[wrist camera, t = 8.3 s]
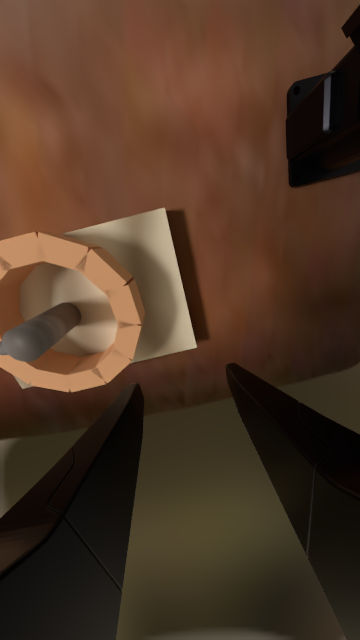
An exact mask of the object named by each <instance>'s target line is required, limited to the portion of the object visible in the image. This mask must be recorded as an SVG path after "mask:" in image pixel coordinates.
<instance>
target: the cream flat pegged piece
mask: <svg viewBox="0 0 360 640" xmlns="http://www.w3.org/2000/svg"><path fill="white" fill-rule="evenodd" d="M60 235H64V236H67V237H71V238H74V239H77V240H81V241H84V242H87V243H90V244H94V245H97V246H100V247H102V249H103V248H104V249H105V250H107V251H108V252H109V253H110V254H111V255H112V256H113V257H114V258H115V259H116V260H117V261H118V262H119V263H120V264H121V265H122V266H123V267H124V268H125V269H126V270H127V271H128V272H129V273H130V274H131V275H132V276H133V277H132V278H131V280H132V279H135V281H136V284H137V287H138V291H139V294H140V297H141V300H142V303H143V306H144V310H145V318H144V321H143V325H142V329H141V333H140V337H139V341H138V345H137V348H136V351H135V355H134V358H133V359H132V362H131V363H133V362H137V361H142V360H146V359H150V358H154V357H159V356H163V355H167V354H171V353H176V352H180V351H184V350H188V349H193V348H197V346H196V342H195V337H194V333H193V329H192V324H191V320H190V316H189V311H188V307H187V303H186V298H185V294H184V290H183V285H182V281H181V277H180V272H179V268H178V263H177V259H176V255H175V250H174V246H173V242H172V237H171V233H170V229H169V224H168V220H167V216H166V211H165V208H161V209H157V210H153V211H149V212H146V213H142V214H138V215H134V216H130V217H126V218H122V219H118V220H114V221H111V222H107V223H103V224H99V225H95V226H91V227H87V228H83V229H79V230H76V231H72V232H68V233H64V234H60ZM19 312H20V314H21V315H22V317H23V319H24V321H25V322H24V323H22V324H20V325H18V326H16V327H14V328H12V329H10V330H9V331H7V332H6V333H5V334H4V335H3V337H2V341H0V355H10V356H11V357H12V358H14V359H16V360H19V361H23V362H31V361H34V360H36V359H38V358H39V357H40V356H41V355H43V354H44V353H45V352H46V351H47V350H48V349H50V348H51V349H53V350H54V351H56V352H61V353H65V354H70V355H75V356H79V357H83V356H87V355H91V354H95V353H100V352H104V351H105V350H106V349H107V348H108V347H110V346H111V345H112V344H113V343H114V342H115V337H116V332H117V327H118V323H117V321H116V318H115V316H114V313H113V310H112V308H111V305H110V303H109V300H108V297H107V295H106V294H105V293H103V292H102V291H101V290H100V289H99V288H98V287H97V286H96V285H94V284H93V283H92V282H91V281H90V280H89V279H88V278H87V277H85V276H84V275H83V274H82V273H81V272H80V271H77V270H73V269H70V268H66V267H63V266H59V265H56V264H52V263H45V264H41V265H37V266H36V267H35V268H34V269H33V270H32V272H31V273H30V274H29V275H28V276H27V278H26V279H25V280H24V281H23V283H22V284H21V285H20V308H19ZM14 377H15V378H16V380H17V381H18V383H19V384H20V386H21V387H22V389H23V388H27V387H31V386H32V385H31V382H30V383H29V384H27V383H25V382H24V381H22V380H21V379H19V378H17V377H16V376H14Z"/></svg>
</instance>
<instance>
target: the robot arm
mask: <svg viewBox="0 0 360 640" xmlns="http://www.w3.org/2000/svg"><path fill="white" fill-rule="evenodd" d="M341 29H342V31H343V32H344V34H345V36H346V38H348V37H349V36H350V38H351V40H352V42H353V43H354V47H353V48H352V49H351V50H350V51H349V52H348V53H347V54H346V55H345V56H344V57H343V58H342V60H341V61H340V62H339V63H338V64H337V65H336V66H335V67H334V68H333V69H332V70H331V71H330V72H328V73H325V74H322V75H318V76H314V77H311V78H307V79H303V80H300V81H296V82H294V83H293V85H292V86H291V87H290V88H289V90H288V92H287V119H286V148H287V159H288V172H289V185H290V186H291V187H292V188H293V187H298V186H302V185H306V184H310V183H314V182H318V181H322V180H326V179H330V178H334V177H338V176H341V175H345V174H349V173H353V172H357V171H360V5H359V6H358V7H357V8H356V10H355V11H354V12H353V14H352V15H351V16H350V17H349V19H348V20H347V21H346V23H345V24H344V25H343V26H342V28H341ZM293 90H295V91H296V92H297V95H294V93H293ZM295 177H296V178H297V183H296V182H295V180H294V179H295ZM225 367H226V375H227V381H228V384H229V387H230V390H231V393H232V396H233V399H234V402H235V405H236V407H237V410H238V413H239V415H240V418H241V420H242V422H243V424H244V426H245V428H246V431H247V433H248V434H249V436H250V439H251V441H252V443H253V445H254V447H255V449H256V451H257V454H258V456H259V457H260V460H261V462H262V464H263V466H264V468H265V470H266V472H267V474H268V476H269V479H270V481H271V483H272V485H273V487H274V488H275V491H276V493H277V495H278V497H279V499H280V501H281V503H282V506H283V508H284V510H285V512H286V514H287V516H288V518H289V520H290V522H291V524H292V527H293V529H294V531H295V533H296V535H297V537H298V539H299V541H300V543H301V545H302V547H303V549H304V551H305V554H306V556H307V557H308V560H309V562H310V564H311V566H312V569H313V571H314V573H315V575H316V577H317V579H318V581H319V583H320V585H321V587H322V589H323V592H324V593H325V595H326V598H327V600H328V602H329V604H330V606H331V608H332V610H333V612H334V614H335V616H336V618H337V621H338V623H339V625H340V627H341V629H342V631H343V633H344V635H345V637H346V639H347V640H360V434H358V433H356V432H354V431H352V430H350V429H348V428H346V427H344V426H342V425H340V424H338V423H336V422H335V421H333V420H331V419H329V418H327V417H325V416H323V415H321V414H320V413H318V412H316V411H315V410H313V409H311V408H309V407H308V406H306V405H304V404H303V403H299V402H298V401H297V400H296V399H294V398H292V397H291V396H289V395H287V394H286V393H284V392H282V391H281V390H279V389H277V388H276V387H274V386H272V385H271V384H269V383H267V382H266V381H264V380H262V379H261V378H259V377H257V376H256V375H254V374H252V373H251V372H249V371H247V370H246V369H244V368H242V367H241V366H239V365H237V364H236V363H230V364H226V366H225ZM143 420H144V397H143V394H142V391H141V388H140V385H139V383H132V384H129V385H128V386H127V387H126V388H125V389H124V390H123V391H122V393H121V394H120V395H119V396H118V397H117V398H116V399H115V400H114V401H113V402H112V403H111V404H110V406H109V407H108V408H107V409H106V410H105V411H104V412H103V413H102V414H101V415H100V416H99V418H98V419H97V420H96V421H95V422H94V423H93V424H92V425H91V426H90V427H89V428H88V430H87V431H86V432H85V433H84V434H83V435H82V436H81V437H80V438H79V439H78V441H76V443H75V444H74V445H73V446H72V448H70V449H69V450H68V451H67V452H66V453H65V454H64V456H63V457H62V458H61V459H60V460H59V461H58V462H57V463H56V464H55V465H54V466H53V467H52V468H51V469H50V470H49V471H48V472H47V473H46V474H45V475H44V476H43V477H42V478H41V479H40V480H39V481H38V482H37V483H36V484H35V485H34V486H33V487H32V488H31V489H30V490H29V491H28V492H27V493H26V494H25V495H24V496H23V497H22V498H21V499H20V500H19V501H18V502H17V503H16V504H15V505H14V506H13V507H12V508H11V509H10V510H9V511H8V512H6V513H5V514H4V515H3V516H2V517H1V518H0V640H116V634H117V626H118V618H119V611H120V604H121V596H122V591H121V590H122V588H123V580H124V573H125V565H126V558H127V550H128V543H129V536H130V528H131V520H132V512H133V506H134V499H135V491H136V483H137V476H138V469H139V461H140V454H141V446H142V438H143V422H144V421H143Z"/></svg>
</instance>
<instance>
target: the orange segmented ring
mask: <svg viewBox="0 0 360 640" xmlns="http://www.w3.org/2000/svg"><path fill="white" fill-rule="evenodd" d="M45 263H52V264H56V265H59V266H63V267H66V268H70V269H73V270H77V271H80V272H81V273H82V274H83V275H84V276H85V277H87V278H88V279H89V280H90V281H91V282H92V283H93V284H94V285H96V286H97V287H98V288H99V289H100V290H101V291H102V292H103V293H105V294H106V295H107V297H108V300H109V303H110V305H111V308H112V310H113V313H114V316H115V318H116V321H117V323H118V327H117V332H116V337H115V342H114V343H113V344H112V345H111V346H110V347H108V348H107V349H106V350H105V351H104V352H100V353H95V354H91V355H87V356H83V357H79V356H75V355H70V354H65V353H61V352H56V351H54V350H53V349H51V348H50V349H48V350H47V351H46V352H45V353H44V354H43V355H41V356H40V357H39V358H38V359H36V360H34V361H31V362H23V361H19V360H16V359H14V358H12V357H11V356H10V355H0V367H1V368H3V369H4V370H6V371H8V372H9V373H11V374H13V375H14V376H16V377H17V378H19V379H21V380H22V381H24V382H25V383H27V384H29V383H30V382H31V385H32V386H38V387H43V388H49V389H54V390H60V391H65V392H69V391H70V390H71V392H75V391H79V390H83V389H87V388H92V387H96V386H100V385H104V384H106V382H107V383H108V382H110V381H111V380H112V379H113V378H114V377H115V376H116V375H117V374H118V373H119V372H121V371H122V370H123V369H124V368H125V367H126V366H127V365H128V364H129V363H131V362H132V359H133V358H134V355H135V351H136V348H137V345H138V341H139V337H140V333H141V329H142V325H143V321H144V318H145V310H144V306H143V303H142V300H141V297H140V294H139V291H138V287H137V284H136V281H135V279H132V280H131V278H132V277H133V276H132V275H131V274H130V273H129V272H128V271H127V270H126V269H125V268H124V267H123V266H122V265H121V264H120V263H119V262H118V261H117V260H116V259H115V258H114V257H113V256H112V255H111V254H110V253H109V252H108V251H107V250H105V249H104V248H103V249H102V247H100V246H97V245H94V244H90V243H87V242H84V241H81V240H77V239H74V238H71V237H67V236H64V235H60V234H51V233H42V232H32V233H28V234H25V235H21V236H17V237H13V238H9V239H5V240H1V241H0V341H2V337H3V335H4V334H5V333H6V332H7V331H9V330H10V329H12V328H14V327H16V326H18V325H20V324H22V323H24V322H25V321H24V319H23V317H22V315H21V314H20V312H19V308H20V285H21V284H22V283H23V281H24V280H25V279H26V278H27V276H28V275H29V274H30V273H31V272H32V270H33V269H34V268H35V267H36V266H37V265H41V264H45Z"/></svg>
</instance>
